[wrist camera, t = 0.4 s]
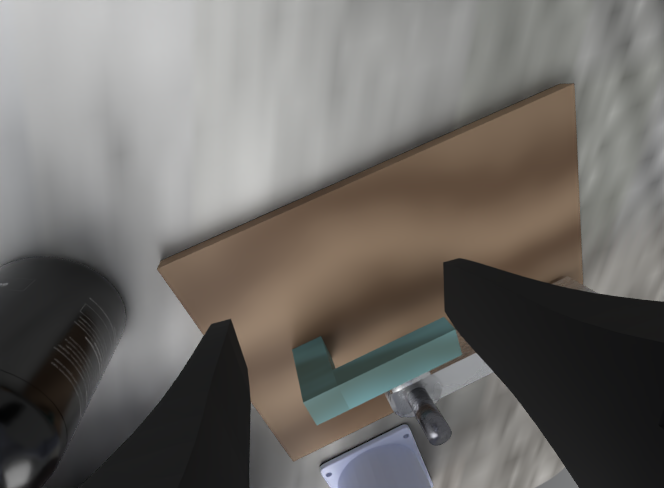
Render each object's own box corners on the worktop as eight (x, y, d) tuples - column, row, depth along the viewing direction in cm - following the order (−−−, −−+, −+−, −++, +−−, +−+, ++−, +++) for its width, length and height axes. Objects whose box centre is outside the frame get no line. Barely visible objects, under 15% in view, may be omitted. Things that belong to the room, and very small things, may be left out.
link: (385, 397, 26) (419, 468, 21) (370, 363, 24) (404, 431, 19) (569, 307, 27) (642, 355, 22) (567, 269, 25) (645, 312, 20)
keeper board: (573, 311, 29) (639, 354, 24) (291, 449, 27) (302, 524, 23) (559, 83, 21) (653, 81, 16) (160, 260, 19) (135, 315, 15)
